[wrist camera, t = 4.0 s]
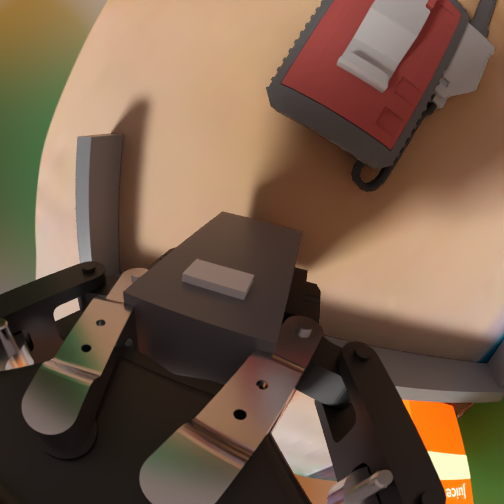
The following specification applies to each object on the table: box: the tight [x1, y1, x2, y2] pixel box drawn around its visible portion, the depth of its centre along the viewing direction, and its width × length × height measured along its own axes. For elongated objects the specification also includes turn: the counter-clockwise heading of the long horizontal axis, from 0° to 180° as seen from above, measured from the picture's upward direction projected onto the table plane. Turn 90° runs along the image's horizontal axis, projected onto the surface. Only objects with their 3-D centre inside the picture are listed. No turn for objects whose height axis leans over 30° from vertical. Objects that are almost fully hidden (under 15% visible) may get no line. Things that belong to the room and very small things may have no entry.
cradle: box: [76, 134, 504, 403], centre depth 13 cm, size 33×11×4 cm, turn 80°
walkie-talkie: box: [266, 0, 497, 192], centre depth 7 cm, size 9×4×20 cm
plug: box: [123, 212, 302, 385], centre depth 11 cm, size 4×4×8 cm
